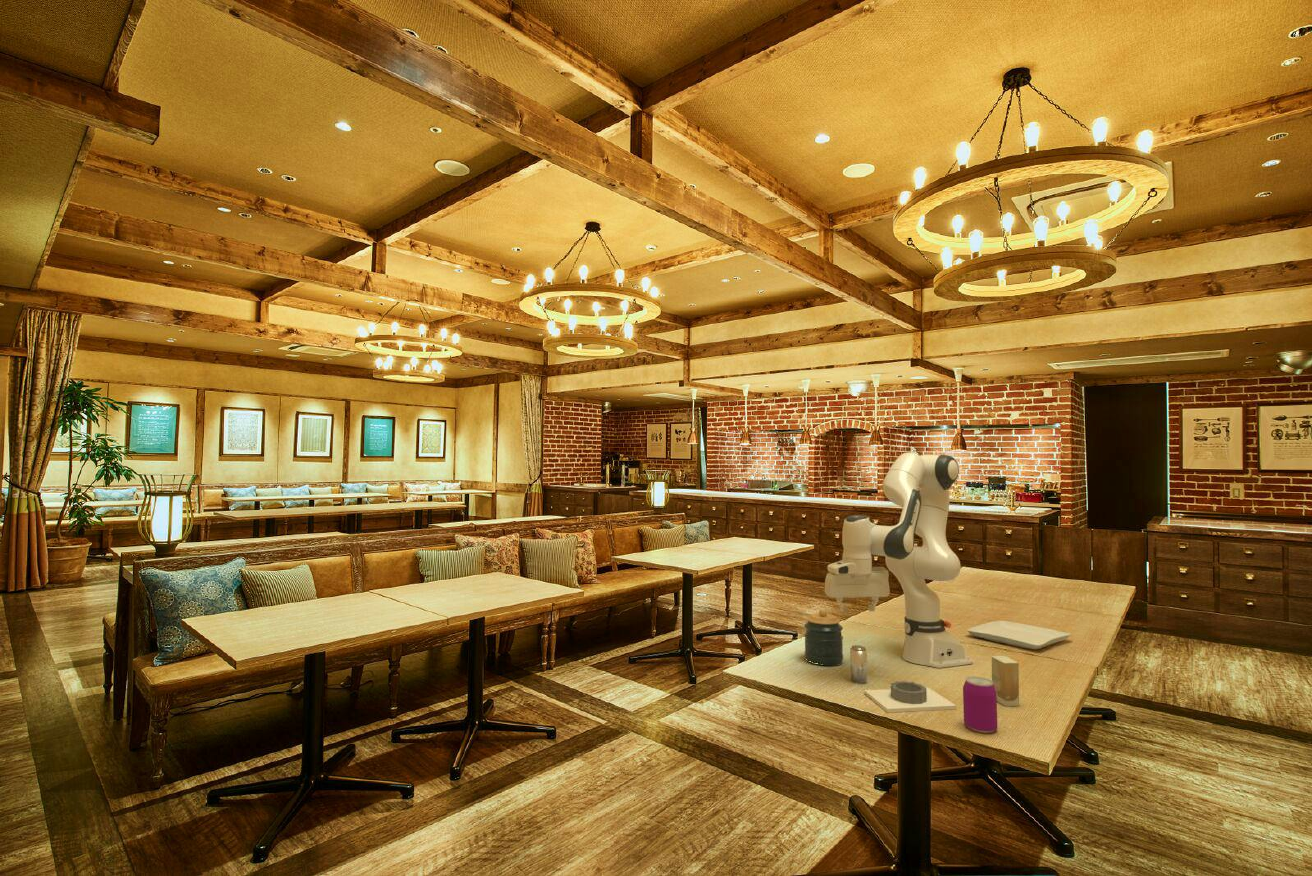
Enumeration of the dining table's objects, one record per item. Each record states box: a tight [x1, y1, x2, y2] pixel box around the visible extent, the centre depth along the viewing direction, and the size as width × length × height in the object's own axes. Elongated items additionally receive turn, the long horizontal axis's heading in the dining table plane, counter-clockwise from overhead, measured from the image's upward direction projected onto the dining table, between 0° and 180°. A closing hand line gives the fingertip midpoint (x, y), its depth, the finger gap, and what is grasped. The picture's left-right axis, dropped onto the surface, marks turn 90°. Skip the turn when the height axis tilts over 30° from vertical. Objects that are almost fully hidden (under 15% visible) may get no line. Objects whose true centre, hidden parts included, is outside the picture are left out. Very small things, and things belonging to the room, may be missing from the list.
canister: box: [803, 608, 844, 666], centre depth 211 cm, size 13×13×18 cm
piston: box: [849, 644, 868, 685], centre depth 190 cm, size 5×5×11 cm
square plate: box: [966, 620, 1072, 650], centre depth 236 cm, size 27×27×4 cm
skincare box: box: [991, 655, 1020, 707], centre depth 174 cm, size 6×4×12 cm
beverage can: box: [962, 675, 998, 734], centre depth 157 cm, size 8×8×12 cm
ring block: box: [863, 680, 957, 714], centre depth 174 cm, size 20×14×4 cm
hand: (857, 611), depth 191 cm, fingers open, 8 cm apart
